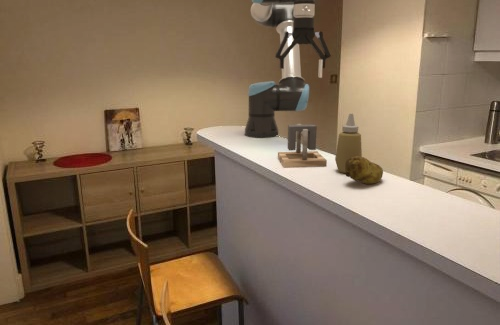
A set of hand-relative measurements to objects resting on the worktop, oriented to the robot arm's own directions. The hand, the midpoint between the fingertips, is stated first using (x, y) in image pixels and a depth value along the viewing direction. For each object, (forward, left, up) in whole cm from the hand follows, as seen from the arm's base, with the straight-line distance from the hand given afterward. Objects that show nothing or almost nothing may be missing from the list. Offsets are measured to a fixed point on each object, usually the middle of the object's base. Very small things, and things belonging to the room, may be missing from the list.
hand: (302, 77), depth 154 cm
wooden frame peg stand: (+21, -4, -27) cm, 34 cm away
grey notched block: (+21, -4, -22) cm, 31 cm away
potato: (+46, +9, -27) cm, 54 cm away
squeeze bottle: (+34, +8, -27) cm, 44 cm away
